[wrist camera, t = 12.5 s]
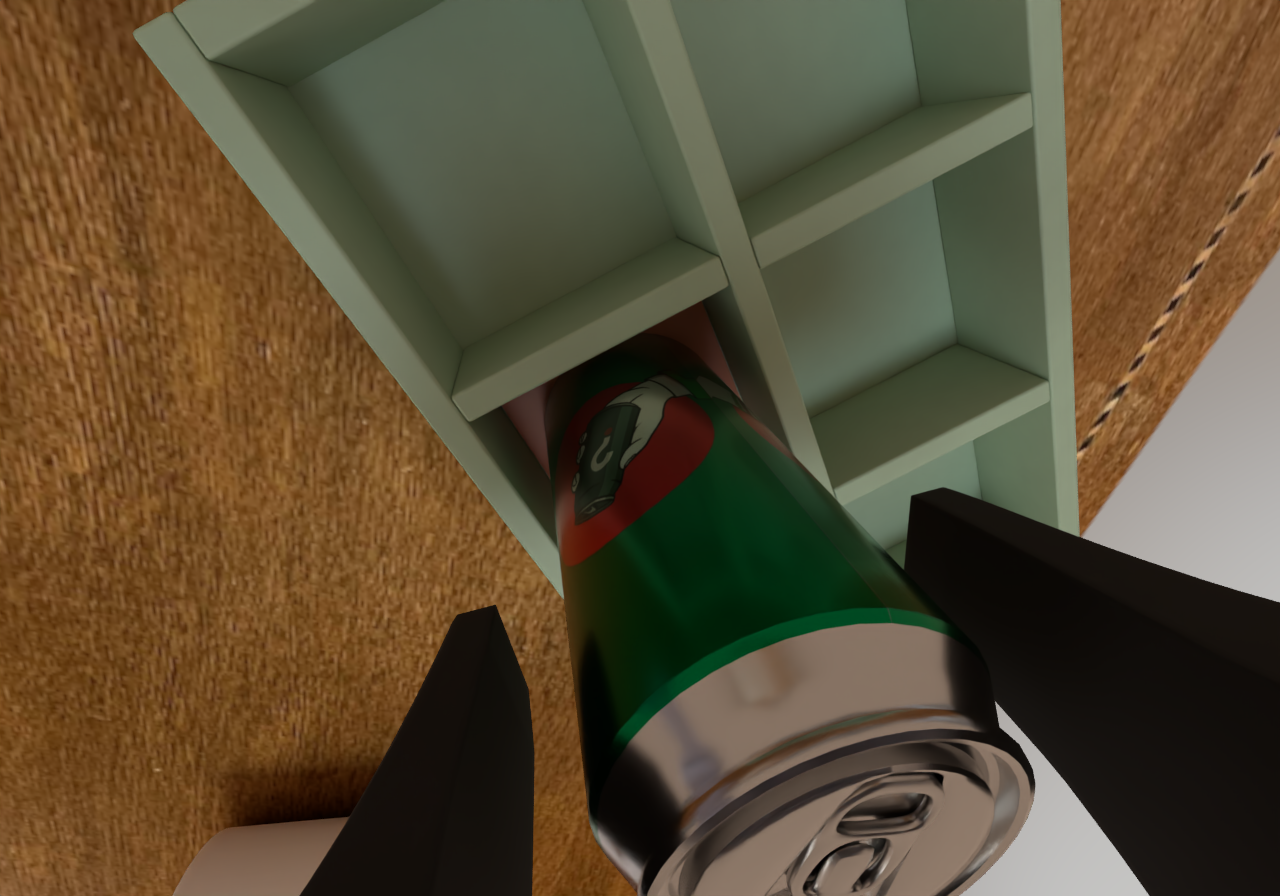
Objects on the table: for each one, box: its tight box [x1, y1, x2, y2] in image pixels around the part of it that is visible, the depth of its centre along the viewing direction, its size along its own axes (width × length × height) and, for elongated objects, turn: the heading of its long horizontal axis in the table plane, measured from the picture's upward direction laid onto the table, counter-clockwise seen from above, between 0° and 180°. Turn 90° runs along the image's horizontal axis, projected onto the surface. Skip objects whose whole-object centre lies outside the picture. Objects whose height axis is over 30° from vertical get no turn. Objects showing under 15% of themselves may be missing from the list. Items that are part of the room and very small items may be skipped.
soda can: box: [544, 333, 1035, 896], centre depth 11 cm, size 5×5×12 cm
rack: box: [133, 0, 1079, 599], centre depth 15 cm, size 15×22×4 cm
